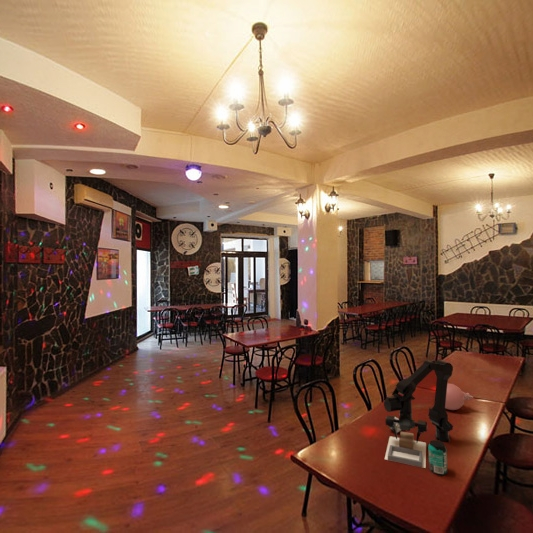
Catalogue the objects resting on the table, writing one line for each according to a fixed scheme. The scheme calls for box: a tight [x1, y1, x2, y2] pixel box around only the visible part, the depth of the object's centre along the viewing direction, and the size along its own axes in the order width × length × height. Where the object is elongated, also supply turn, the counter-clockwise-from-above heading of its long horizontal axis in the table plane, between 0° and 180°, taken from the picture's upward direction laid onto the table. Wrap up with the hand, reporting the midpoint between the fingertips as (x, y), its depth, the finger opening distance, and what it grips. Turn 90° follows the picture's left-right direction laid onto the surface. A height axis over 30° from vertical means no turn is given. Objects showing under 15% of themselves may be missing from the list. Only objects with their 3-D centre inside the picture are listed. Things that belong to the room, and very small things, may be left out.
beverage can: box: [427, 439, 449, 477], centre depth 141 cm, size 7×7×12 cm
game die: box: [387, 415, 402, 434], centre depth 176 cm, size 9×8×10 cm
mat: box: [384, 435, 427, 469], centre depth 157 cm, size 23×17×3 cm
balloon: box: [445, 382, 474, 411], centre depth 202 cm, size 15×20×15 cm
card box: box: [398, 430, 415, 449], centre depth 162 cm, size 10×6×4 cm, turn 154°
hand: (406, 440), depth 162 cm, fingers open, 9 cm apart
